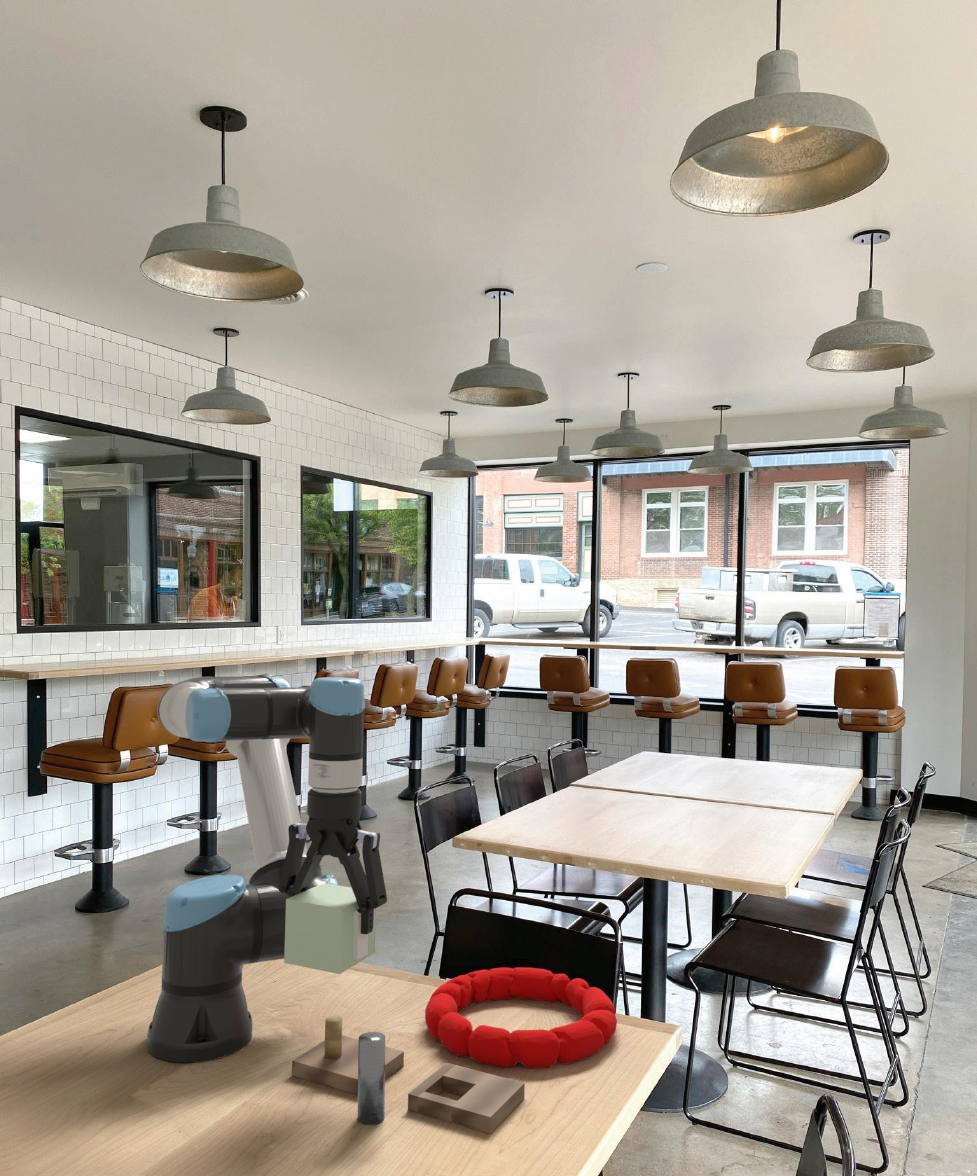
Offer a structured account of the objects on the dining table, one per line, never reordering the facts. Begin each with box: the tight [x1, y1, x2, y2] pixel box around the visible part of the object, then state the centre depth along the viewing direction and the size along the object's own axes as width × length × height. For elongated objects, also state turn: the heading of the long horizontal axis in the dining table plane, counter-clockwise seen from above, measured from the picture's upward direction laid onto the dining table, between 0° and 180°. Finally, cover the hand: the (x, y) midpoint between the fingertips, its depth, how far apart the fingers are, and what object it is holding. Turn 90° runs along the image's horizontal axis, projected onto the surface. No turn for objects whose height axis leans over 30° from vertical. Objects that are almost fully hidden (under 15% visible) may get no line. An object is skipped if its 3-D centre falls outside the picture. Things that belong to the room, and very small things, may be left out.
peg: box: [357, 1031, 386, 1126], centre depth 118 cm, size 3×3×10 cm
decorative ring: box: [424, 967, 618, 1069], centre depth 146 cm, size 7×30×30 cm
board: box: [291, 1015, 405, 1096], centre depth 130 cm, size 12×10×7 cm
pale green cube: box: [283, 883, 377, 975], centre depth 129 cm, size 9×9×9 cm
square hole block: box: [407, 1062, 526, 1134], centre depth 122 cm, size 12×10×2 cm
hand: (330, 950), depth 129 cm, fingers closed on pale green cube, 9 cm apart
